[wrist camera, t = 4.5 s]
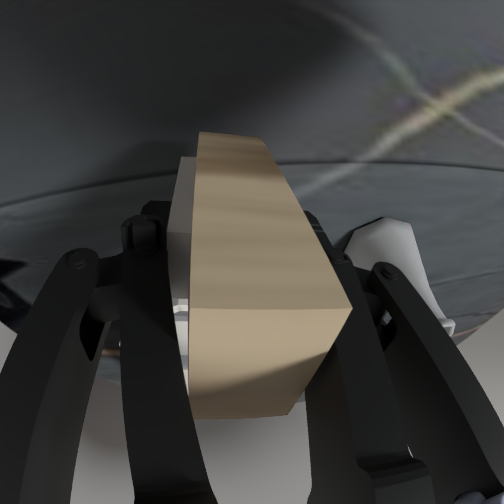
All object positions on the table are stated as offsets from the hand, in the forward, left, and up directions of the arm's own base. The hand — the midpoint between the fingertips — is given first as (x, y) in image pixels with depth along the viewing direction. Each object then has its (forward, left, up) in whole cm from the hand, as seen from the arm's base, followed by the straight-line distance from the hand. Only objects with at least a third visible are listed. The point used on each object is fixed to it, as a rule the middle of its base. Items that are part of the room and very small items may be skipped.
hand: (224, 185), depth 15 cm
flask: (+6, +14, -4) cm, 16 cm away
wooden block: (0, 0, -1) cm, 1 cm away
